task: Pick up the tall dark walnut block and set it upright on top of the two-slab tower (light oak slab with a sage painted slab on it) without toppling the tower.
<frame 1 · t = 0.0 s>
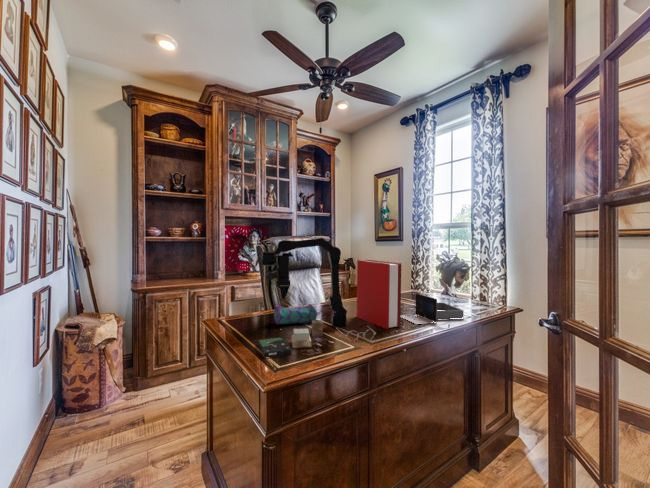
hand: (283, 297, 146), 15 cm above the table, fingers open, 9 cm apart
tower top: (301, 338, 123), point 2 cm above the table, touching tower base
walnut block: (317, 334, 135), on the table
pencil case: (295, 323, 154), on the table
charger caddy: (439, 315, 173), on the table
tower base: (301, 345, 123), on the table, touching tower top
book: (376, 321, 158), on the table
disk drive: (274, 351, 117), on the table
laptop: (416, 320, 163), on the table
eyeglasses: (353, 335, 137), on the table
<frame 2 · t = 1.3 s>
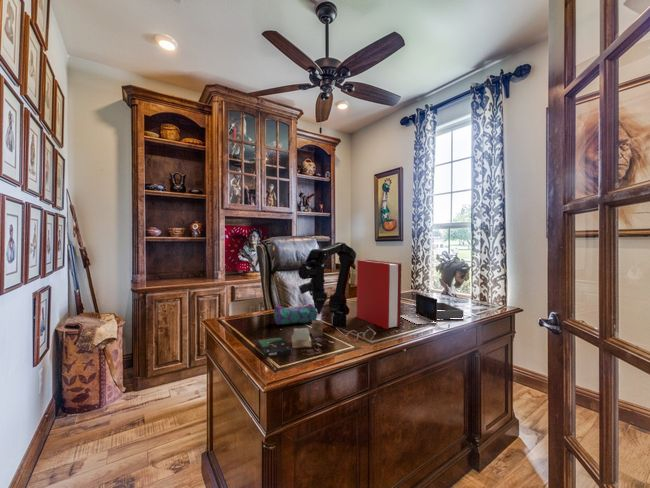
hand: (317, 311, 135), 11 cm above the table, fingers open, 9 cm apart
nothing on the table moved.
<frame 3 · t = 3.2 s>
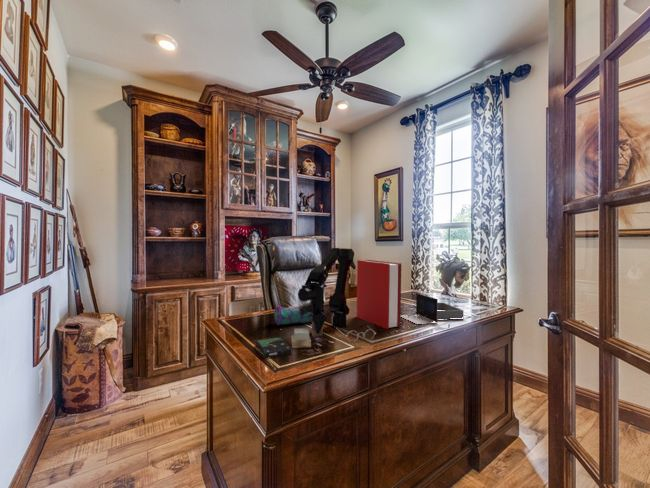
hand: (317, 332, 135), 1 cm above the table, fingers closed on walnut block, 4 cm apart
walnut block: (317, 334, 135), on the table, touching gripper
everything else where it was.
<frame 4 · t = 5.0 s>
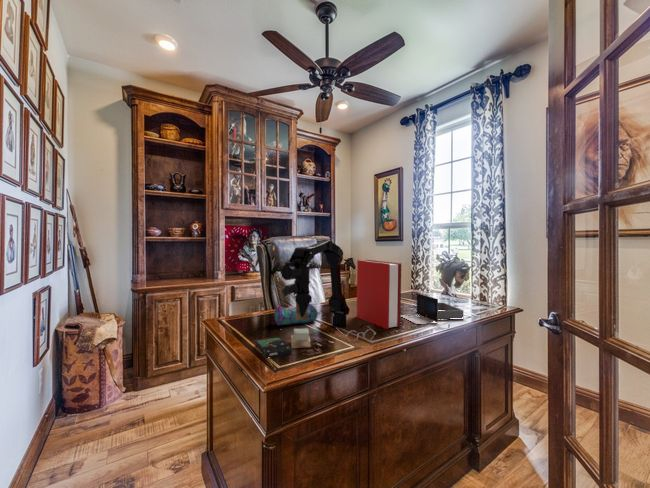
hand: (301, 315, 123), 12 cm above the table, fingers closed on walnut block, 4 cm apart
walnut block: (301, 318, 123), point 11 cm above the table, touching gripper
everything else where it was.
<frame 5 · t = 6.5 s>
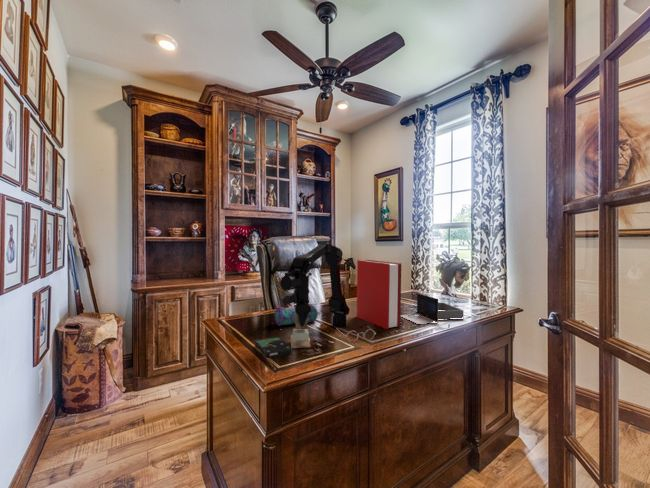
hand: (301, 324, 123), 8 cm above the table, fingers closed on walnut block, 4 cm apart
walnut block: (301, 327, 123), point 7 cm above the table, touching gripper
when the fingers open (8 cm above the table, at t = 6.9 s): walnut block drops 1 cm, resting on tower top.
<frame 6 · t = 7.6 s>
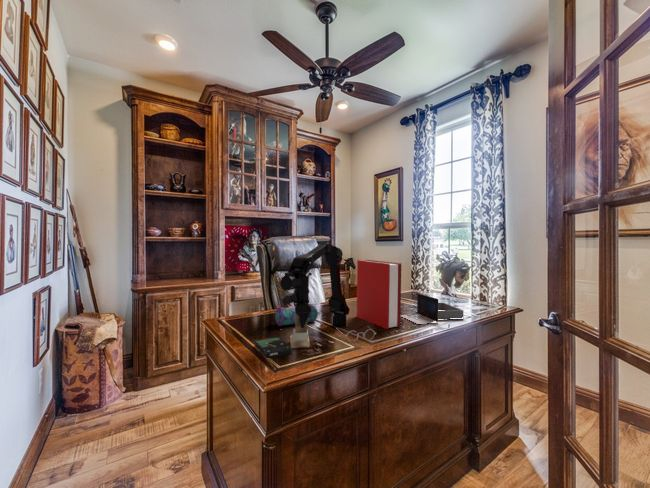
hand: (301, 324, 123), 8 cm above the table, fingers open, 9 cm apart
tower top: (300, 338, 123), point 2 cm above the table, touching tower base, walnut block
walnut block: (301, 330, 123), point 5 cm above the table, touching tower top
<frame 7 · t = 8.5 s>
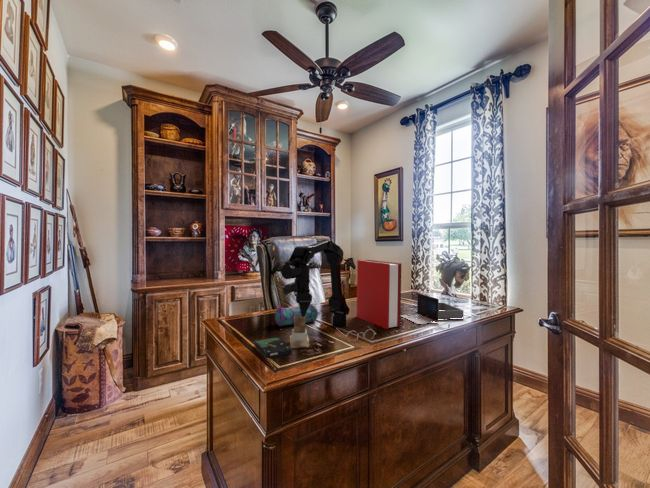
hand: (302, 313, 124), 12 cm above the table, fingers open, 9 cm apart
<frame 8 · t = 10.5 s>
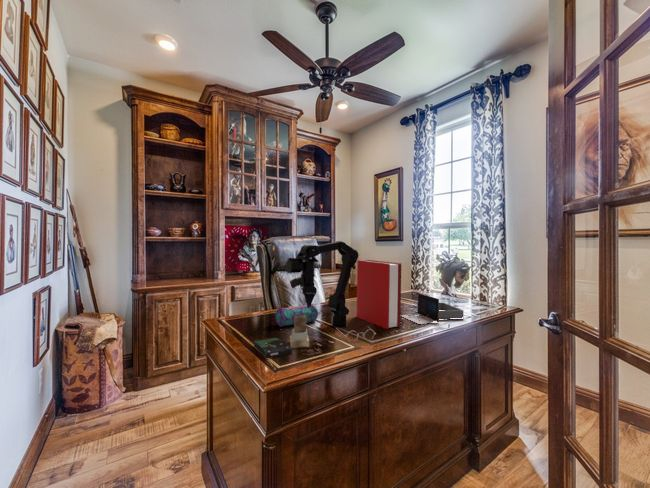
hand: (307, 305, 139), 13 cm above the table, fingers open, 9 cm apart
tower top: (299, 338, 123), point 2 cm above the table, touching tower base
walnut block: (300, 330, 123), point 5 cm above the table
at the end: walnut block 0.4 cm off-centre on the tower base, point 6.0 cm above the tower base's base; walnut block tilted 1°; tower top tilted 0° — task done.
